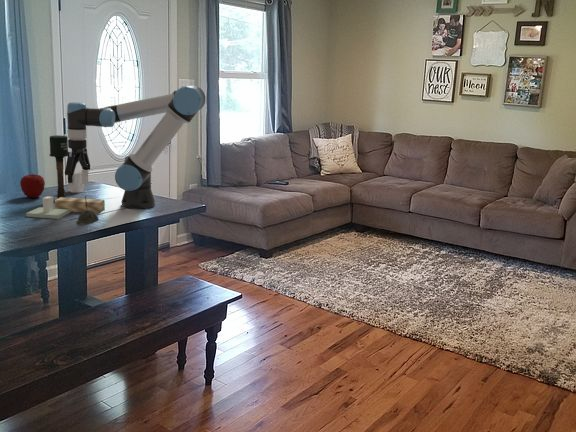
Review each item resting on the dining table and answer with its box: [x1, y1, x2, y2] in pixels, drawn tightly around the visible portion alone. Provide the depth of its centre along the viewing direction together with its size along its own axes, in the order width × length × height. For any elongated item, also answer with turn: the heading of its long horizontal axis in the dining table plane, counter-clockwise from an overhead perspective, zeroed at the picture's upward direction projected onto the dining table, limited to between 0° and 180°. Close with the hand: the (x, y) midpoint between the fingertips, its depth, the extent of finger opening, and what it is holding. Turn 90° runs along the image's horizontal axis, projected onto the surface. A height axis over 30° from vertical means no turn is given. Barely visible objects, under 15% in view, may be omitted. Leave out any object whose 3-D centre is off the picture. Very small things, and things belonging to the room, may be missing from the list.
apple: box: [19, 173, 45, 199], centre depth 282 cm, size 11×11×12 cm
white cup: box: [68, 170, 85, 194], centre depth 299 cm, size 8×8×10 cm
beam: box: [54, 197, 106, 214], centre depth 263 cm, size 20×6×5 cm, turn 87°
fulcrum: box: [25, 195, 71, 220], centre depth 253 cm, size 14×11×8 cm
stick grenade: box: [49, 135, 69, 199], centre depth 278 cm, size 8×9×30 cm
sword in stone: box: [77, 195, 99, 225], centre depth 246 cm, size 10×8×12 cm
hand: (78, 187), depth 261 cm, fingers open, 13 cm apart
